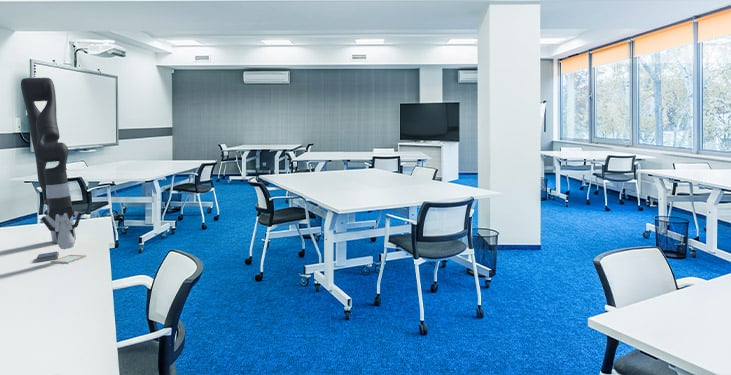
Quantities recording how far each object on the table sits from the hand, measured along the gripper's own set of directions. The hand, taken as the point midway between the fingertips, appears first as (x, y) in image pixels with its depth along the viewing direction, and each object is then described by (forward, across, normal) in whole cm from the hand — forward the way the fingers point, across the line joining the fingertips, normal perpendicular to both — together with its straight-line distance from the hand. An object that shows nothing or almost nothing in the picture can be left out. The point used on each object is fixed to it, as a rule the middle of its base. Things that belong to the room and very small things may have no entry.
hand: (65, 239), depth 189 cm
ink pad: (+8, +8, -8) cm, 14 cm away
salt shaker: (+3, 0, 0) cm, 3 cm away
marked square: (+8, 0, 0) cm, 8 cm away
